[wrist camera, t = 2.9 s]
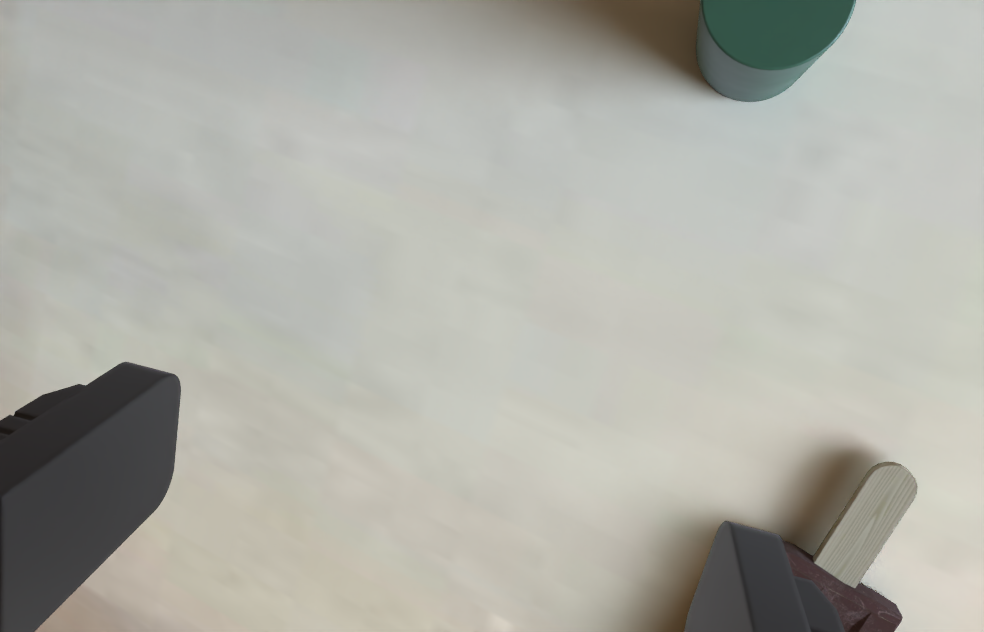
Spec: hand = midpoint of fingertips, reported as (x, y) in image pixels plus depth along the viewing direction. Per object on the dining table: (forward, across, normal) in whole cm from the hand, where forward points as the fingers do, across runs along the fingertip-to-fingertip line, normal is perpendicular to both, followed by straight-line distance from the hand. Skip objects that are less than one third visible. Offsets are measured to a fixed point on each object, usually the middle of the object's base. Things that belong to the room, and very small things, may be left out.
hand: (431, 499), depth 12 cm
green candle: (+22, -6, -7) cm, 24 cm away
